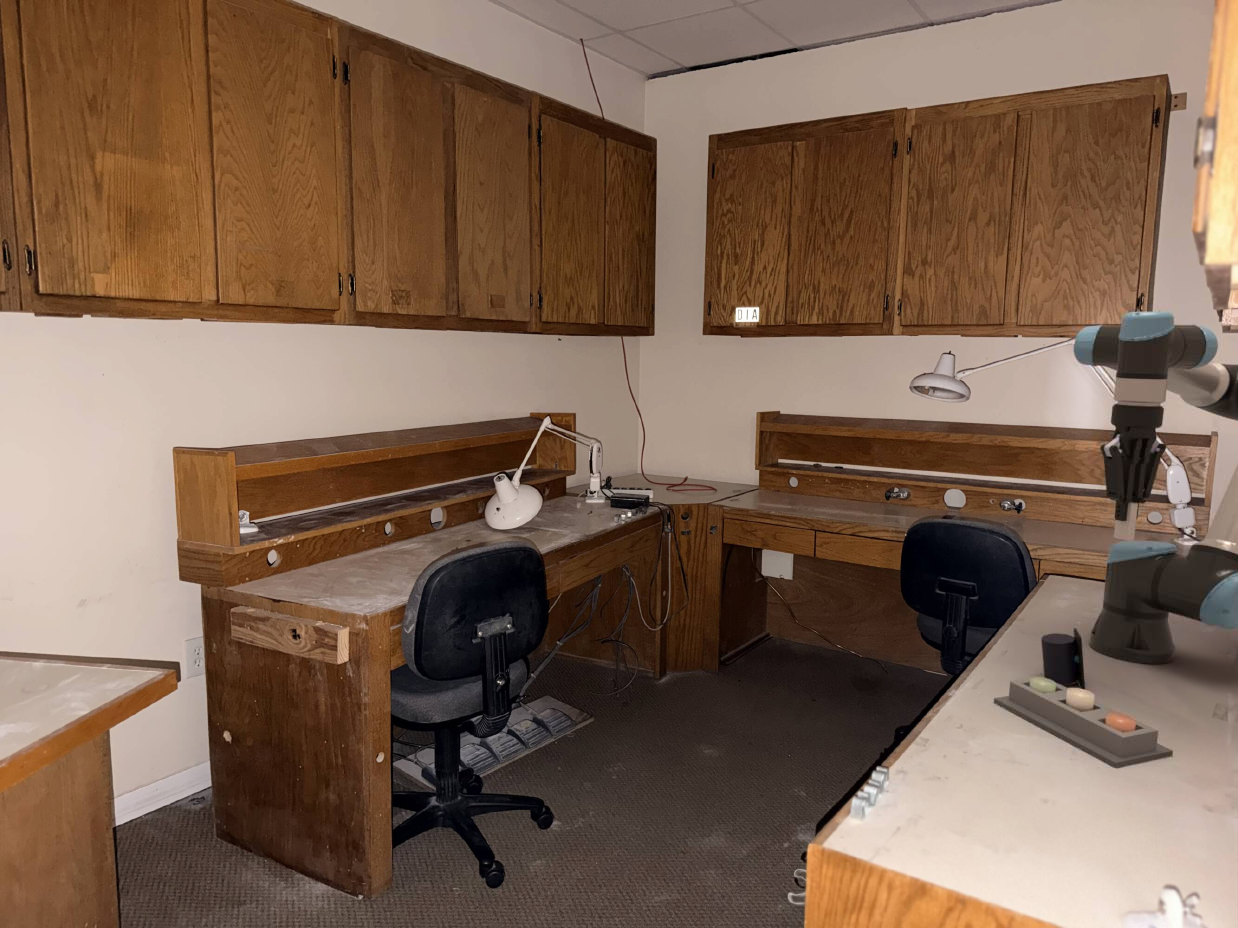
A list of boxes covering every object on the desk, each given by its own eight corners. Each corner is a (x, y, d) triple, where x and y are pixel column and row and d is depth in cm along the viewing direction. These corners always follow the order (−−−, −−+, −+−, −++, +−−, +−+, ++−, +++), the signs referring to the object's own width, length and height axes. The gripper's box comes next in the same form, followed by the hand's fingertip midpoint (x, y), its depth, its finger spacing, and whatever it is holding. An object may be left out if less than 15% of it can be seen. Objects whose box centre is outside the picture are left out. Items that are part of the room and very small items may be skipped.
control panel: (993, 702, 148) (995, 680, 147) (1045, 693, 152) (1047, 672, 151) (1115, 767, 125) (1118, 742, 125) (1172, 755, 129) (1175, 731, 129)
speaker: (1091, 681, 157) (1090, 628, 156) (1085, 692, 152) (1083, 637, 151) (1047, 674, 162) (1045, 623, 160) (1039, 685, 157) (1038, 632, 156)
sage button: (1023, 697, 146) (1024, 678, 146) (1040, 694, 148) (1042, 675, 147) (1041, 706, 143) (1043, 687, 142) (1059, 703, 144) (1061, 684, 144)
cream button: (1059, 709, 139) (1061, 689, 139) (1077, 706, 141) (1079, 686, 140) (1079, 719, 136) (1082, 699, 135) (1098, 716, 137) (1100, 696, 136)
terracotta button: (1098, 735, 132) (1100, 714, 132) (1116, 731, 134) (1118, 711, 133) (1120, 747, 129) (1123, 725, 128) (1139, 743, 130) (1142, 722, 130)
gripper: (1145, 401, 148) (1131, 531, 151) (1090, 402, 144) (1077, 536, 147) (1186, 405, 141) (1170, 541, 145) (1130, 405, 137) (1115, 546, 140)
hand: (1123, 538), depth 146 cm, fingers closed
